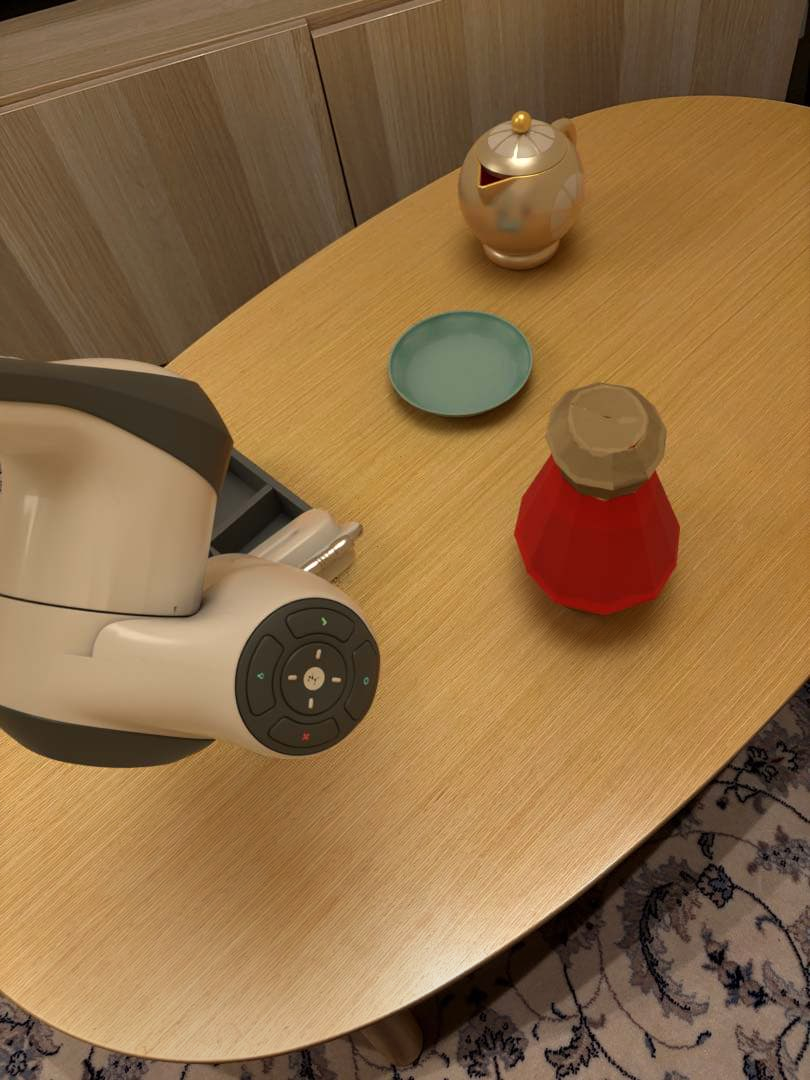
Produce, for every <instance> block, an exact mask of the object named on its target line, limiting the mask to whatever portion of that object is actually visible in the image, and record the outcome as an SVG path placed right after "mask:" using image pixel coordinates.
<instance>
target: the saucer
mask: <svg viewBox="0 0 810 1080" xmlns="http://www.w3.org/2000/svg"><path fill="white" fill-rule="evenodd" d="M387 361H388V362H387V373H388V377H389V378H388V379H389V380H390V382H391V385H392V387H393V388H394V390H395V392H396V393H397V394H398V395H399V396H400V397H401V398H402V400H404V401H406V402H407V403H408V404H410V405H411V406H413V407H415V408H416V409H418V410H421V411H423V412H425V413H428V414H431V415H435V416H439V417H446V418H468V417H473V416H478V415H482V414H484V413H487V412H490V411H492V410H494V409H496V408H498V407H500V406H502V405H504V403H506V402H508V401H509V400H510V399H512V398H513V397H514V396H515V395H516V394H518V392H519V391H520V390H521V389H522V388H523V387H524V385H525V384H526V382H527V381H528V380H529V377H530V375H531V372H532V369H533V362H534V355H533V349H532V346H531V344H530V342H529V340H528V338H527V336H526V335H525V334H524V333H523V331H522V330H521V329H520V328H519V327H517V326H516V324H513V322H511V321H509V320H507V319H506V318H504V317H502V316H500V315H496V314H494V313H489V312H486V311H481V310H470V309H458V310H449V311H445V312H444V311H443V312H440V313H435V314H433V315H430V316H428V317H425V318H423V319H421V320H419V321H417V322H416V323H414V324H412V325H411V326H410V327H408V328H407V329H406V330H405V331H404V332H402V334H401V335H400V336H399V337H398V339H397V340H396V341H395V342H394V344H393V346H392V348H391V350H390V353H389V356H388V360H387Z"/></svg>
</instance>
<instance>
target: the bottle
mask: <svg viewBox="0 0 810 1080" xmlns="http://www.w3.org/2000/svg"><path fill="white" fill-rule="evenodd" d="M667 432H668V430H667V428H666V426H665V423H664V421H663V420H662V418H661V416H660V414H659V412H658V409H657V408H656V406H655V405H654V404H653V403H652V402H651V401H650V400H648V399H647V398H646V397H645V396H644V395H643V394H642V393H640V392H639V391H638V390H637V389H636V388H635V387H631V386H625V385H618V384H612V383H607V382H601V381H597V382H594V383H590V384H588V385H584V386H580V387H578V388H575V389H571V390H567V391H565V392H564V394H563V395H562V396H561V397H560V399H558V401H557V402H556V404H555V405H554V406H553V408H552V409H551V411H550V412H549V417H548V421H547V426H546V431H545V436H544V438H545V441H546V443H547V445H548V448H549V452H550V455H549V456H548V458H547V459H546V461H545V462H544V463H543V465H542V467H541V468H540V470H539V471H538V473H537V474H536V475H535V477H534V478H533V480H532V482H531V483H530V485H529V486H528V488H527V489H526V491H525V492H524V493H523V495H522V496H521V500H520V504H519V509H518V514H517V518H516V522H515V526H514V527H515V528H514V531H513V536H514V538H515V542H516V545H517V547H518V550H519V553H520V556H521V560H522V562H523V566H524V567H525V571H526V573H527V574H528V575H529V576H530V577H531V579H532V580H533V581H534V582H535V583H536V585H538V586H539V587H540V589H541V590H542V591H543V593H545V595H547V596H548V598H549V599H550V600H551V602H553V604H555V605H556V604H557V605H559V606H561V607H565V608H567V609H572V610H574V611H581V612H584V613H587V614H592V615H596V616H597V615H598V616H599V615H600V616H608V615H611V614H614V613H618V612H622V611H624V610H627V609H630V608H634V607H636V606H640V605H642V604H645V603H648V602H651V601H655V600H657V599H658V597H659V595H660V593H661V592H662V591H663V589H664V587H665V585H666V584H667V583H668V581H669V580H670V577H671V576H672V574H673V572H674V571H675V569H676V567H677V564H678V554H679V543H680V533H681V525H680V523H679V520H678V518H677V516H676V513H675V512H674V511H675V510H674V509H673V507H672V504H671V501H670V499H669V497H668V496H667V493H666V491H665V488H664V486H663V484H662V482H661V479H660V477H659V474H658V472H657V470H656V469H657V468H658V466H659V465H660V463H661V462H662V461H663V459H664V457H665V451H666V450H665V449H666V441H667V434H668V433H667Z"/></svg>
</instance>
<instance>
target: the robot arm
mask: <svg viewBox="0 0 810 1080" xmlns="http://www.w3.org/2000/svg"><path fill="white" fill-rule="evenodd" d="M234 441H235V440H234V438H233V436H232V435H231V432H230V431H229V429H228V426H227V425H226V423H225V421H224V420H223V418H222V416H221V414H220V412H219V411H218V409H217V407H216V406H215V404H214V402H213V401H212V400H211V398H210V397H209V396H208V394H207V393H206V392H205V390H204V388H203V387H201V386H200V384H199V382H196V381H194V380H190V379H188V378H186V377H185V376H183V375H181V374H179V373H178V372H175V371H173V370H170V369H168V368H166V367H163V366H159V365H156V364H153V363H149V362H143V361H138V360H134V359H133V360H132V359H127V358H112V357H88V358H74V359H63V360H52V361H51V360H50V361H39V360H28V359H24V358H23V359H22V358H18V357H15V356H3V355H0V470H1V490H0V729H1V730H2V731H3V732H4V733H5V734H6V735H8V736H9V738H11V739H13V740H14V741H15V742H17V744H20V746H22V747H23V748H25V749H27V750H28V751H30V752H32V753H34V754H36V755H38V756H41V757H44V758H47V759H50V760H53V761H57V762H60V763H65V764H71V765H78V766H86V767H94V768H105V769H107V768H108V769H138V768H149V767H151V768H152V767H159V766H166V765H171V764H175V763H177V762H179V761H182V760H184V759H187V758H189V757H191V756H192V755H196V754H198V753H199V752H201V751H203V750H205V749H206V748H208V747H209V746H211V745H212V744H213V743H214V742H216V741H220V742H224V743H227V744H230V745H234V746H236V747H239V748H242V749H244V750H247V751H250V752H252V753H255V754H258V755H260V756H265V757H267V758H273V759H280V760H281V759H282V760H283V759H284V760H303V759H309V758H314V757H318V756H320V755H323V754H325V753H327V752H329V751H331V750H333V749H335V748H336V747H338V746H340V744H342V743H343V742H344V741H346V739H348V738H349V737H350V736H351V735H352V734H353V733H354V732H355V731H356V730H357V729H358V727H359V726H360V725H361V724H362V722H363V721H364V719H365V718H366V717H367V715H368V713H369V712H370V710H371V708H372V705H373V704H374V700H375V698H376V696H377V691H378V688H379V685H380V678H381V672H382V671H381V669H382V656H381V647H380V644H379V640H378V636H377V634H376V630H375V628H374V627H373V624H372V622H371V620H370V618H369V617H368V615H367V614H366V612H365V611H364V609H362V607H361V606H360V605H359V604H358V603H357V602H356V601H355V599H353V598H352V597H351V596H350V595H349V594H347V593H346V592H345V591H343V590H342V589H341V588H339V587H338V586H337V585H335V584H333V583H332V581H333V580H334V579H336V577H338V576H339V575H340V574H342V573H343V572H344V571H345V570H346V569H347V568H349V567H350V566H351V564H352V563H353V562H354V560H355V558H356V553H357V552H356V549H355V548H354V547H355V543H354V542H356V541H357V540H359V539H360V538H361V537H362V536H364V535H365V530H364V526H363V525H362V524H361V523H359V521H347V522H344V523H342V524H338V523H337V521H336V520H335V518H334V517H333V516H332V515H331V513H329V512H328V511H326V510H324V509H321V508H317V507H315V508H314V507H313V509H311V510H309V511H306V512H305V513H303V514H301V515H300V516H298V517H297V518H296V519H294V520H293V521H291V522H290V523H289V524H287V525H286V526H285V527H283V528H282V529H281V530H279V531H278V532H277V533H275V534H274V535H273V536H271V537H270V538H268V539H267V540H266V541H264V542H263V543H262V544H260V545H259V546H258V547H256V548H255V549H254V550H252V551H251V552H249V553H248V554H239V553H231V554H222V555H217V556H214V557H211V558H208V554H209V548H210V542H211V535H212V529H213V523H214V516H215V510H216V505H217V504H218V503H219V501H220V498H221V494H222V489H223V485H224V481H225V477H226V473H227V469H228V465H229V461H230V457H231V453H232V449H233V447H234V445H235V442H234ZM331 580H332V581H331Z"/></svg>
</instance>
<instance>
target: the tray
mask: <svg viewBox="0 0 810 1080" xmlns="http://www.w3.org/2000/svg"><path fill="white" fill-rule="evenodd" d="M313 508H314V507H313V506H311V505H310V504H309V503H308V502H306V501H305V500H304V499H303V498H301V497H300V496H298V495H297V494H296V493H294V491H291V490H290V489H289V488H288V487H287V486H285V485H284V484H282V483H281V482H280V481H279V480H277V479H276V478H275V477H273V476H272V475H271V474H270V473H268V472H267V471H265V470H264V469H263V468H261V467H260V466H259V465H258V464H256V463H255V462H254V461H252V460H251V459H250V458H248V457H247V456H246V455H244V454H243V453H242V452H241V451H239V450H238V449H237V448H235V447H234V446H233V449H232V453H231V457H230V461H229V465H228V469H227V473H226V477H225V481H224V485H223V489H222V494H221V498H220V501H219V503H218V504H217V505H216V510H215V516H214V523H213V529H212V535H211V542H210V548H209V549H210V551H211V552H212V554H213V556H217V555H222V554H231V553H239V554H248V553H249V552H251V551H252V550H254V549H255V548H256V547H258V546H259V545H260V544H262V543H263V542H264V541H266V540H267V539H268V538H270V537H271V536H273V535H274V534H275V533H277V532H278V531H279V530H281V529H282V528H283V527H285V526H286V525H287V524H289V523H290V522H291V521H293V520H294V519H296V518H297V517H298V516H300V515H301V514H303V513H305V512H306V511H309V510H311V509H313ZM332 581H333V580H331V581H330V582H332Z"/></svg>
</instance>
